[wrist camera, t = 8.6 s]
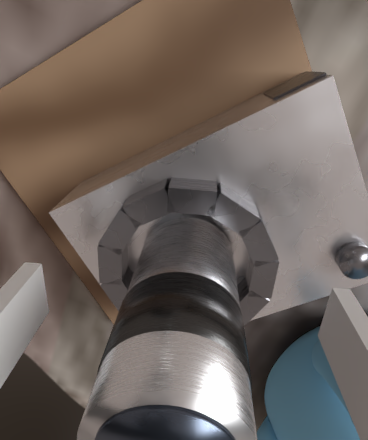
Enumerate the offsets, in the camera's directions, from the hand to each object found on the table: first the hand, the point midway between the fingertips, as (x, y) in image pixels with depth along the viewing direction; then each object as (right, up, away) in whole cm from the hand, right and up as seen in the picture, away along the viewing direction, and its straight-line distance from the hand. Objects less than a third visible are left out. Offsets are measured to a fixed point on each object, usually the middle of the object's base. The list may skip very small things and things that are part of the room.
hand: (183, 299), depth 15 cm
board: (-1, +7, +8) cm, 10 cm away
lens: (0, +1, +3) cm, 4 cm away
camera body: (+2, +4, +7) cm, 9 cm away
